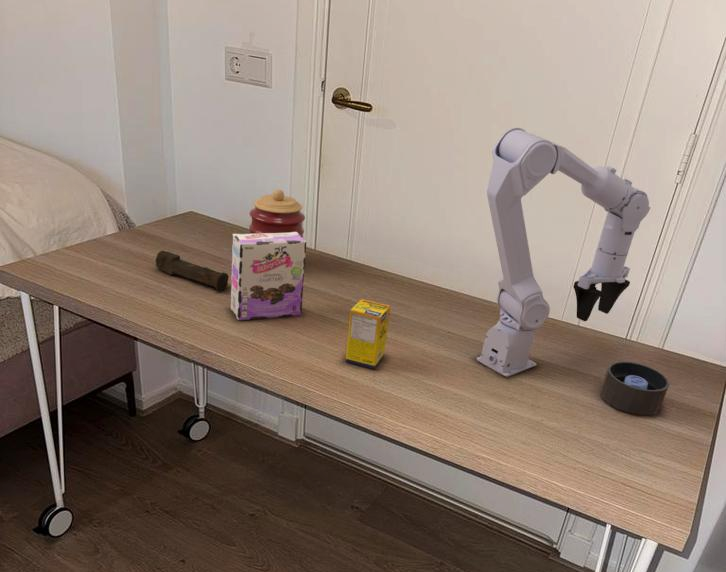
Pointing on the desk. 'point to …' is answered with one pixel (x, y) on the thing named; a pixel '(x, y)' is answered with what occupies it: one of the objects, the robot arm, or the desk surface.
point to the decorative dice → (636, 382)
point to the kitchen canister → (276, 214)
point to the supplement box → (367, 333)
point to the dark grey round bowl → (634, 388)
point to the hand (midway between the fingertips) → (592, 315)
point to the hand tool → (191, 270)
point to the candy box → (267, 275)
